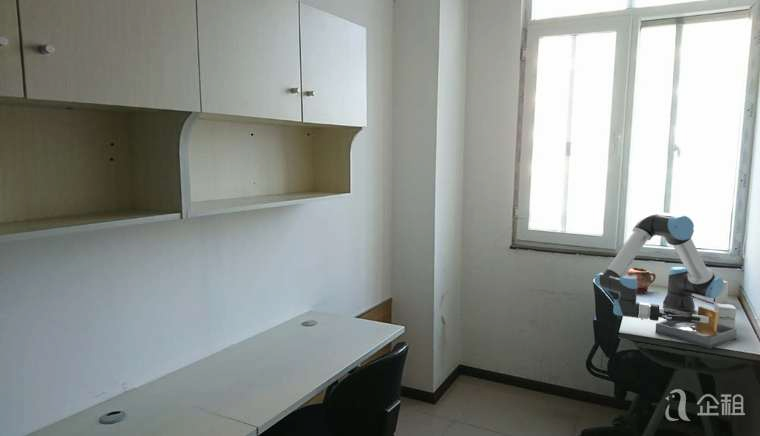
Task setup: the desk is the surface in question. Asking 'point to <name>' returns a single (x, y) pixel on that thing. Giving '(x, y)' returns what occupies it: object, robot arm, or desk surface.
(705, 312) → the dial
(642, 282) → the orange ceramic pot
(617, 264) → the robot arm
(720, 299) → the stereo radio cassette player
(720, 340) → the gray rectangular tray
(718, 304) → the supplement box
